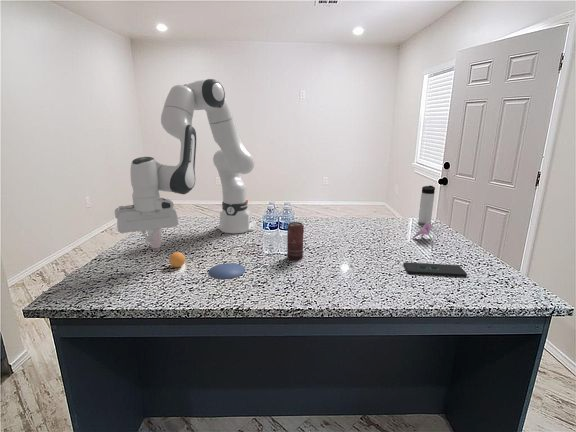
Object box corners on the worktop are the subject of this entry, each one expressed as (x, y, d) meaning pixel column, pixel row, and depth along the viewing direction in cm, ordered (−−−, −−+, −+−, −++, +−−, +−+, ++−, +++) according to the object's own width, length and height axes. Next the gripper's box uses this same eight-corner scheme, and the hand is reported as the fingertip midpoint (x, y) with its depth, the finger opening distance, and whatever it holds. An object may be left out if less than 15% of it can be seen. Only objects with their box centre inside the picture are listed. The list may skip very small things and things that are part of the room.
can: (302, 261, 130) (302, 226, 126) (285, 260, 131) (286, 225, 127) (304, 255, 136) (305, 222, 132) (289, 254, 137) (289, 221, 133)
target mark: (216, 262, 128) (216, 261, 128) (249, 265, 126) (249, 264, 126) (202, 277, 116) (202, 276, 116) (238, 280, 114) (238, 280, 114)
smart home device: (403, 261, 127) (459, 264, 125) (402, 265, 128) (458, 268, 126) (408, 270, 120) (467, 274, 117) (407, 275, 120) (467, 278, 118)
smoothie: (146, 249, 140) (142, 217, 136) (149, 244, 146) (146, 213, 142) (162, 249, 141) (159, 216, 137) (165, 243, 147) (162, 212, 143)
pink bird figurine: (436, 239, 159) (428, 220, 161) (449, 237, 148) (440, 217, 149) (413, 247, 159) (405, 228, 160) (424, 246, 147) (415, 226, 148)
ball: (174, 263, 127) (173, 249, 126) (188, 264, 126) (187, 250, 125) (167, 269, 122) (165, 254, 121) (181, 270, 121) (180, 256, 120)
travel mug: (432, 223, 181) (437, 186, 176) (427, 225, 176) (432, 188, 171) (421, 220, 185) (425, 184, 180) (416, 223, 181) (420, 186, 175)
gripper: (114, 208, 112) (119, 248, 115) (178, 203, 122) (180, 239, 125) (113, 204, 117) (117, 242, 121) (174, 199, 127) (176, 234, 131)
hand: (150, 240), depth 123 cm, fingers closed
